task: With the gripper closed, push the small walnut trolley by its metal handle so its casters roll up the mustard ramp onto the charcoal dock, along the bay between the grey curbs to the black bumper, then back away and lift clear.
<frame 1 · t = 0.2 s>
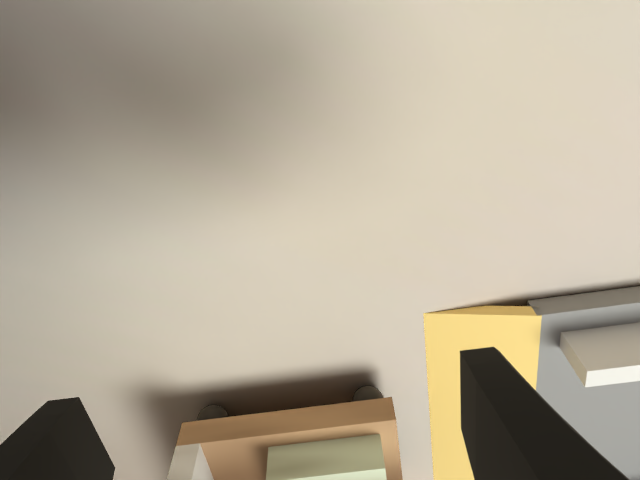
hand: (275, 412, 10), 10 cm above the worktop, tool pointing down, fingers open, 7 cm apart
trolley: (299, 438, 25), on the worktop
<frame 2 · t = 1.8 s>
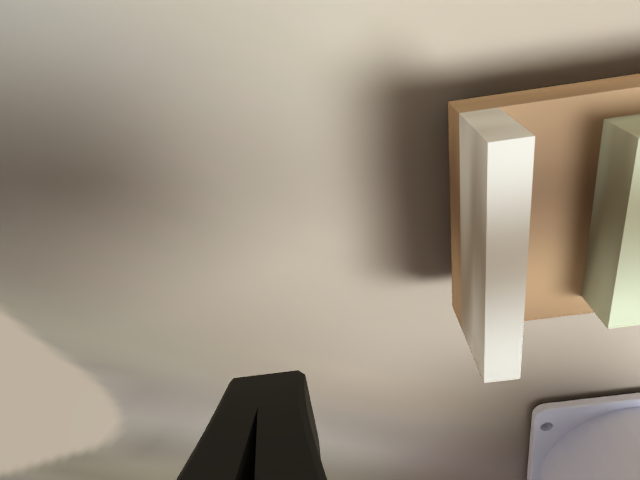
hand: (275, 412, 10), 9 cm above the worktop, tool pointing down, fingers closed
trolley: (578, 177, 17), on the worktop
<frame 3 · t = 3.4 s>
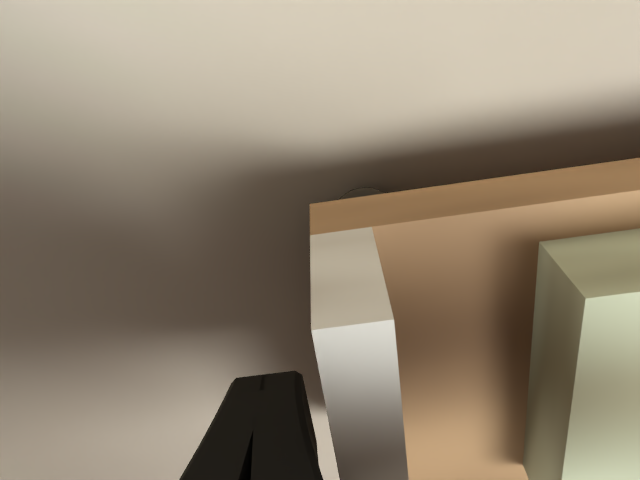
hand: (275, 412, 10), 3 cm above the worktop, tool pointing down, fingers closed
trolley: (521, 286, 12), on the worktop, touching gripper
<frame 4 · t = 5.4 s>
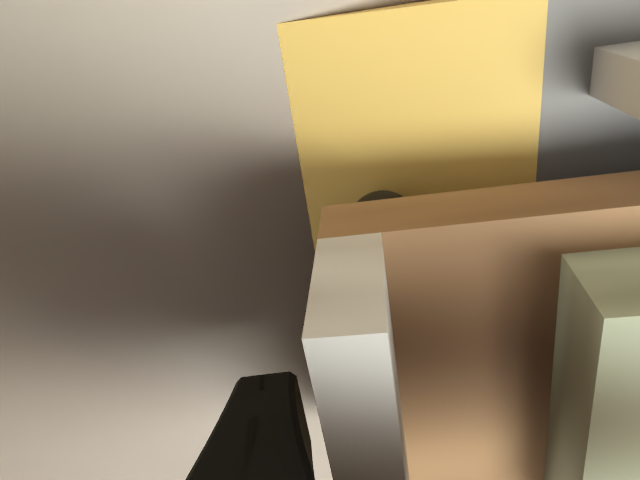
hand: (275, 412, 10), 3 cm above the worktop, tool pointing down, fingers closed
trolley: (551, 298, 11), point 1 cm above the worktop, tilted 5°, touching gripper, loading dock
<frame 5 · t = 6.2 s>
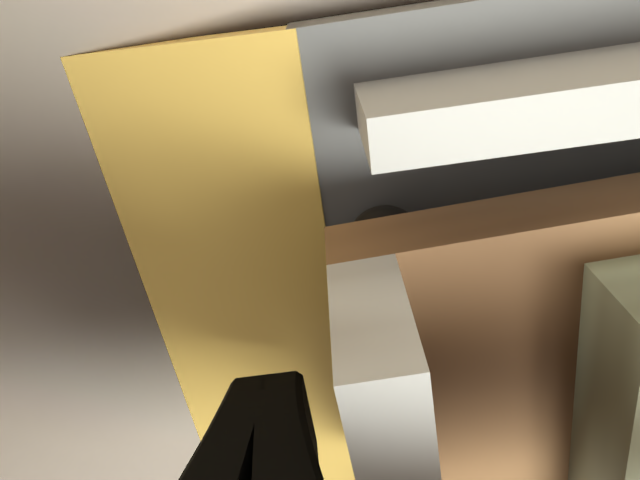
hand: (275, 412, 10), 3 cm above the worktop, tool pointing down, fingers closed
loading dock: (609, 279, 12), on the worktop
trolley: (556, 303, 11), point 1 cm above the worktop, touching gripper, loading dock
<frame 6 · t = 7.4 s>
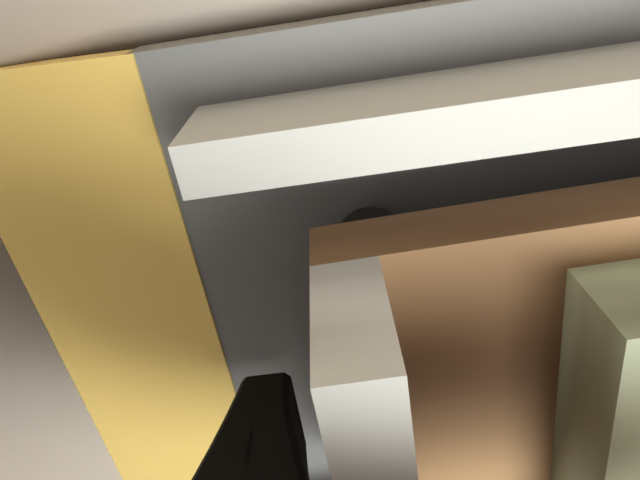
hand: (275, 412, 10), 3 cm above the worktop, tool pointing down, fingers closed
loading dock: (493, 293, 12), on the worktop
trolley: (542, 308, 11), point 1 cm above the worktop, touching gripper, loading dock
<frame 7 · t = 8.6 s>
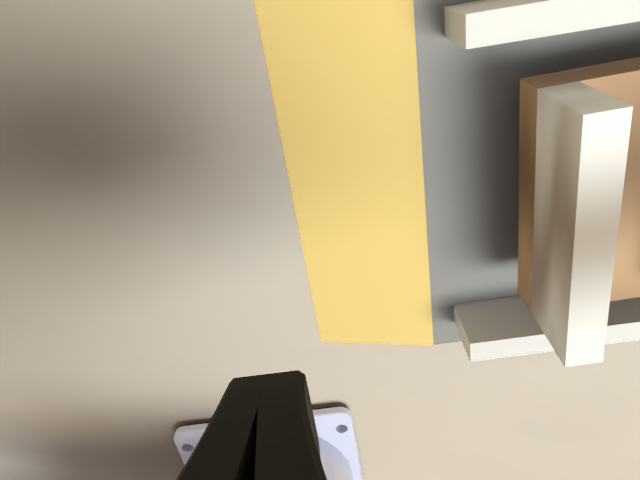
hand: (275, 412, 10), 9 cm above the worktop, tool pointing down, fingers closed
loading dock: (606, 153, 17), on the worktop
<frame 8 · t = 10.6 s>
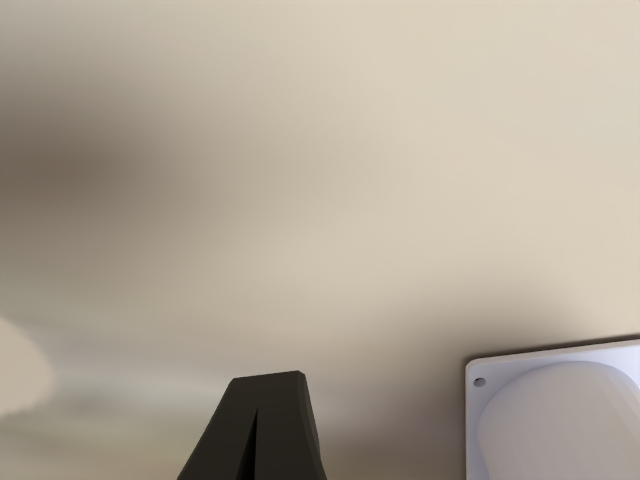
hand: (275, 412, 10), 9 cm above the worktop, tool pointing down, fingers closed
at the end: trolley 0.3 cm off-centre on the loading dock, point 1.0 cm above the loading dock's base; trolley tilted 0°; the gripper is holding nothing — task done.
